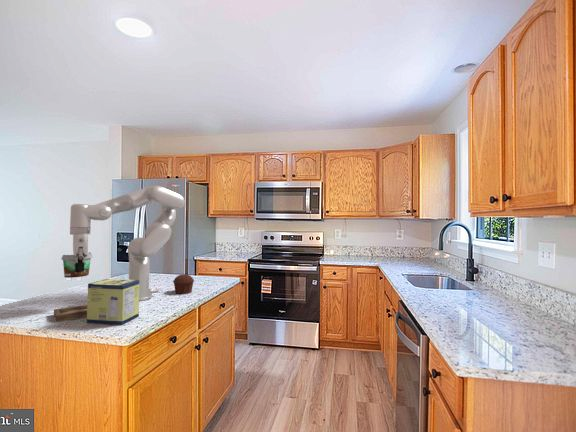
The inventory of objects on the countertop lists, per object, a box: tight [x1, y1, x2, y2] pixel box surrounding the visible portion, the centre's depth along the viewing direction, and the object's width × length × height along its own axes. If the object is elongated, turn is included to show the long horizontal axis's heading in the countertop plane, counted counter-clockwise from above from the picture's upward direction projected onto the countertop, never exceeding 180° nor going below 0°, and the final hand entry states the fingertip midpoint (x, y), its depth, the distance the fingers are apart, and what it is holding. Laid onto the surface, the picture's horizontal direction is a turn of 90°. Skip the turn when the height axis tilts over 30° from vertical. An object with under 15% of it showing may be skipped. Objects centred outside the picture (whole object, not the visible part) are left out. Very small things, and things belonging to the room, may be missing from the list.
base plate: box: [53, 304, 87, 323], centre depth 121 cm, size 17×11×2 cm, turn 133°
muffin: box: [172, 273, 195, 295], centre depth 162 cm, size 12×11×10 cm
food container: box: [60, 251, 93, 279], centre depth 128 cm, size 12×6×10 cm, turn 159°
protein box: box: [86, 278, 140, 326], centre depth 116 cm, size 10×16×16 cm
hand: (79, 270), depth 128 cm, fingers closed on food container, 6 cm apart
